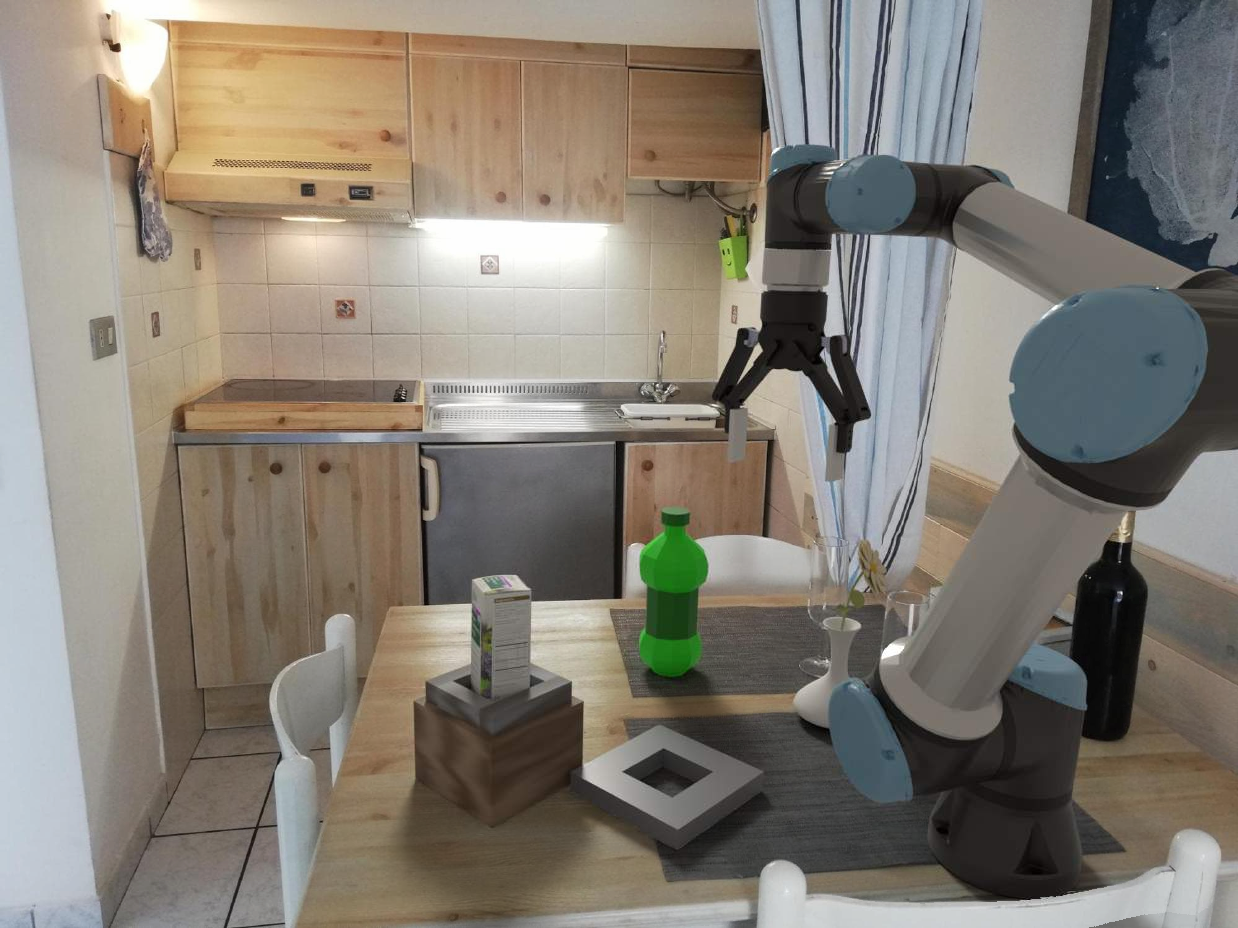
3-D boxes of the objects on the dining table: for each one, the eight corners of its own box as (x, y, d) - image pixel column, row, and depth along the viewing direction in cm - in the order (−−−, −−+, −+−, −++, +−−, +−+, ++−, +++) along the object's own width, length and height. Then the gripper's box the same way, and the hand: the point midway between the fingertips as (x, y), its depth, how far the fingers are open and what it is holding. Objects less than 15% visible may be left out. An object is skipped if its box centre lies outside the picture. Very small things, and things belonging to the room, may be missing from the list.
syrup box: (469, 694, 110) (468, 577, 107) (517, 686, 113) (517, 572, 110) (482, 715, 105) (482, 594, 102) (532, 706, 108) (533, 587, 105)
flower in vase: (842, 747, 120) (858, 563, 115) (775, 714, 129) (786, 540, 123) (901, 718, 128) (918, 544, 123) (834, 688, 137) (847, 524, 132)
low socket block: (762, 790, 110) (763, 771, 109) (677, 850, 98) (678, 829, 98) (658, 742, 120) (659, 724, 120) (570, 791, 109) (570, 771, 108)
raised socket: (582, 777, 112) (584, 681, 109) (491, 827, 102) (491, 722, 99) (505, 736, 121) (505, 646, 118) (415, 778, 111) (413, 680, 108)
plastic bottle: (695, 688, 136) (703, 523, 130) (626, 677, 139) (631, 515, 134) (710, 661, 145) (718, 506, 140) (645, 651, 148) (650, 499, 143)
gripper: (912, 293, 101) (895, 483, 106) (725, 284, 117) (717, 449, 122) (879, 293, 96) (863, 494, 100) (688, 284, 112) (681, 457, 117)
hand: (783, 470), depth 111 cm, fingers open, 13 cm apart
